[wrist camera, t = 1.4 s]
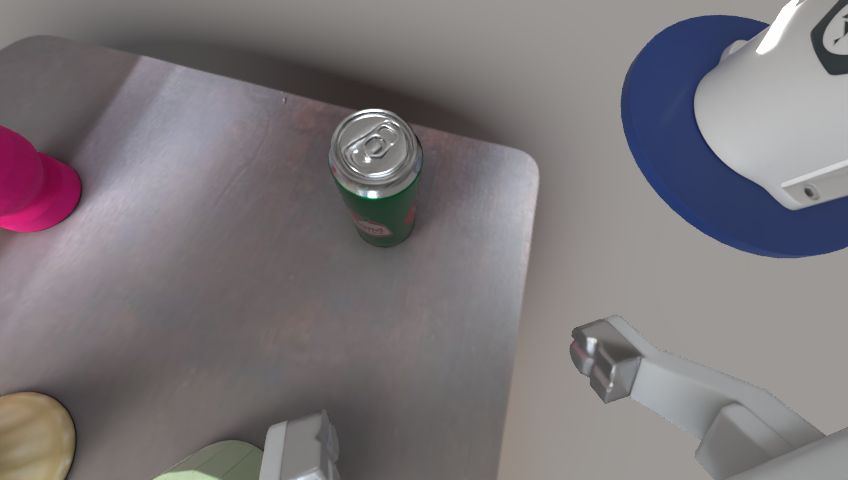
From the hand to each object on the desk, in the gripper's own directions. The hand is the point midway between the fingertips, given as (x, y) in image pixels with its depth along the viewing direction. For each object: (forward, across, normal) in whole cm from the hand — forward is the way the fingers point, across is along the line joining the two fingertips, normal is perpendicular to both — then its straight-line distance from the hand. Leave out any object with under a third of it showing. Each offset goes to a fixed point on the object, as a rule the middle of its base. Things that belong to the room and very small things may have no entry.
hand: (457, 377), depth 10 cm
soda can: (+19, 0, +4) cm, 19 cm away
